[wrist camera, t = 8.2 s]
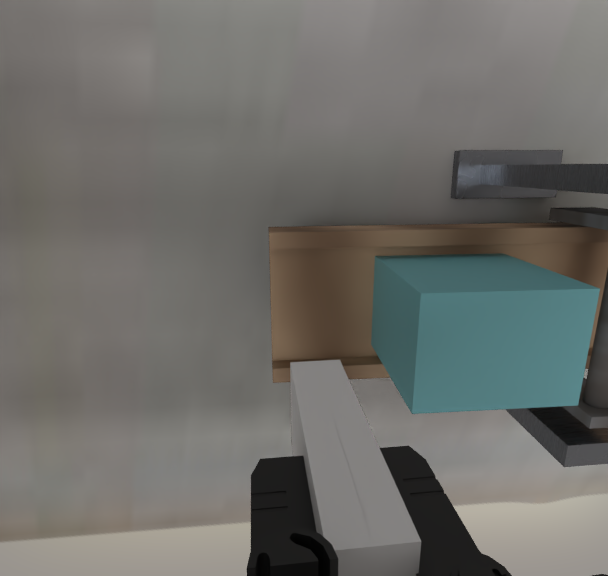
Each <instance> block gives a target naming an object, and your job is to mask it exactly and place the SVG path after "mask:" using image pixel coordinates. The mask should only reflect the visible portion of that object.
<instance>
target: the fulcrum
mask: <svg viewBox="0 0 608 576" xmlns="http://www.w3.org/2000/svg"><path fill="white" fill-rule="evenodd" d="M562 153H563V150H460V151H455V153H454V165H453V177H452V188H451V198H530V197H556V193H557V190H562V191H575V192H588V193H601V194H608V164H561V160H562ZM505 410H506V411H507V412H508V413H509V414H510V415H511V416H512V417H514V418H515V419H516V420H517V421H518V422H519V423H520V424H521V425H522V426H523V427H524V428H525V429H526V430H527V431H528V432H529V433H530V434H531V435H532V436H533V437H534V438H535V439H536V440H537V441H538V442H539V443H540V444H541V445H542V446H543V447H544V448H545V449H546V450H547V451H548V452H549V453H550V454H551V455H552V456H553V457H554V458H555V459H556V460H557V461H558V462H559V463H561V464H562V465H563V466H564V467H571V466H583V465H596V464H608V428H591V429H589V428H588V427H587V426H586V425H584V424H583V423H582V422H581V421H579V420H578V419H577V418H576V417H575V416H573V415H572V414H571V413H570V412H568V411H567V410H566V409H565V408H563V407H562V406H558V407H538V408H518V409H505Z"/></svg>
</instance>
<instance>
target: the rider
mask: <svg viewBox="0 0 608 576" xmlns="http://www.w3.org/2000/svg"><path fill="white" fill-rule="evenodd" d="M599 292H600V288H597V287H594V286H592V285H589V284H586V283H583V282H581V281H578V280H575V279H572V278H570V277H567V276H564V275H561V274H559V273H556V272H553V271H550V270H548V269H545V268H542V267H539V266H537V265H534V264H531V263H528V262H526V261H523V260H520V259H517V258H515V257H512V256H509V255H506V254H504V253H497V254H446V255H396V256H375V265H374V288H373V312H372V336H371V345H372V347H373V349H374V350H375V352H376V354H377V355H378V357H379V359H380V360H381V362H382V364H383V365H384V367H385V369H386V371H387V372H388V374H389V376H390V377H391V379H392V381H393V382H394V384H395V386H396V387H397V389H398V391H399V392H400V394H401V396H402V398H403V399H404V401H405V403H406V404H407V406H408V408H409V409H410V411H411V413H412V414H418V413H438V412H458V411H478V410H498V409H518V408H538V407H558V406H577V405H578V403H579V398H580V392H581V387H582V382H583V377H584V371H585V366H586V361H587V355H588V350H589V345H590V340H591V334H592V329H593V324H594V318H595V313H596V308H597V303H598V297H599Z"/></svg>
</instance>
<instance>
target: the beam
mask: <svg viewBox="0 0 608 576" xmlns="http://www.w3.org/2000/svg"><path fill="white" fill-rule="evenodd" d="M549 220H555V221H560V222H556V223H493V224H430V225H366V226H303V227H269V255H270V293H271V330H272V368H273V383H277V382H291V380H290V362H306V361H324V360H340V361H341V363H342V366H343V368H344V370H345V372H346V375H347V377H348V379H367V378H389V377H390V376H389V374H388V372H387V371H386V369H385V367H384V365H383V364H382V362H381V360H380V359H379V357H378V355H377V354H376V352H375V350H374V349H373V347H372V345H371V336H372V312H373V288H374V265H375V256H396V255H446V254H497V253H504V254H506V255H509V256H512V257H515V258H517V259H520V260H523V261H526V262H528V263H531V264H534V265H537V266H539V267H542V268H545V269H548V270H550V271H553V272H556V273H559V274H561V275H564V276H567V277H570V278H572V279H575V280H578V281H581V282H583V283H586V284H589V285H592V286H594V287H597V288H600V292H599V297H598V303H597V308H596V313H595V318H594V324H593V329H592V334H591V340H590V345H589V350H588V355H587V361H586V366H585V369H588V375H587V380H586V379H585V378H583V382H582V387H581V392H580V398H579V403H578V405H577V406H562V407H563V408H565V409H566V410H567V411H568V412H570V413H571V414H572V415H573V416H575V417H576V418H577V419H578V420H579V421H581V422H582V423H583V424H584V425H586V426H587V427H588V428H589V429H591V428H608V209H603V208H595V207H588V208H551V210H550V217H549Z"/></svg>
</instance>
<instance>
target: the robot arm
mask: <svg viewBox="0 0 608 576" xmlns="http://www.w3.org/2000/svg"><path fill="white" fill-rule="evenodd" d="M290 380H291V442H292V449H293V456H292V457H279V458H266V459H260V460H259V462H258V464H257V466H256V468H255V469H254V471H253V473H252V475H251V553H250V557H249V561H248V566H247V576H512V575H511V574H510V573H509V572H508V571H507V570H506V568H505V567H504V566H502V565H501V564H499V563H498V562H496V561H495V560H493V559H492V558H490V557H489V556H487V555H484V554H481V552H480V551H479V550H478V548H477V546H476V545H475V543H474V541H473V540H472V538H471V536H470V534H469V533H468V531H467V529H466V528H465V526H464V524H463V523H462V521H461V519H460V518H459V516H458V514H457V512H456V511H455V509H454V507H453V505H452V504H451V502H450V500H449V499H448V497H447V495H446V494H444V490H443V488H442V487H441V485H440V483H439V482H438V480H437V479H436V478H435V475H434V473H433V471H432V470H431V468H430V466H429V465H428V463H427V461H426V459H424V458H423V457H422V456H421V455H419V454H418V453H417V452H416V451H414V450H413V449H412V448H411V447H410V446H400V447H388V448H379V446H378V444H377V441H376V439H375V437H374V435H373V433H372V430H371V428H370V426H369V424H368V421H367V419H366V417H365V415H364V412H363V410H362V408H361V406H360V404H359V401H358V399H357V397H356V395H355V392H354V390H353V388H352V386H351V383H350V381H349V379H348V377H347V375H346V372H345V370H344V368H343V366H342V363H341V361H340V360H324V361H306V362H290ZM593 576H608V575H604V574H599V575H593Z"/></svg>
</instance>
